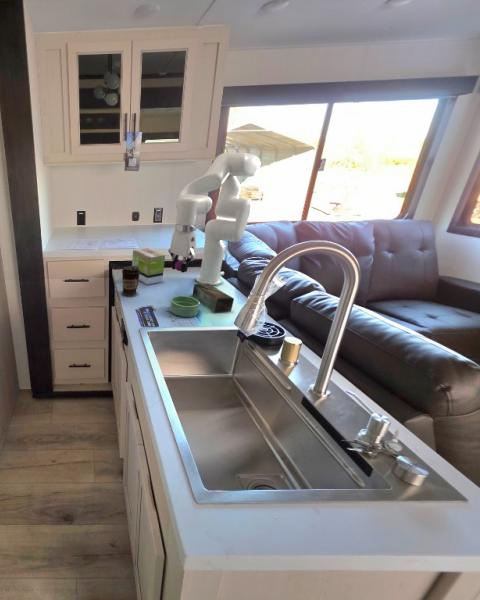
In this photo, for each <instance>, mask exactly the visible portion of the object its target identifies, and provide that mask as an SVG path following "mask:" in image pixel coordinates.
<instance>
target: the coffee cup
mask: <svg viewBox="0 0 480 600" xmlns="http://www.w3.org/2000/svg"><path fill="white" fill-rule="evenodd" d="M121 274H122V275H121V276H122V277H121V278H122V279H121V281H122V294H123V295H124V296H129V297H134V296H136V295H138V293H137V290H138V286H139V281H140V280H139V274H140V270H139V267H136V266H132V265H128V266H124V267H123V268H122V272H121Z"/></svg>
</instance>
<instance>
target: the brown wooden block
mask: <svg viewBox="0 0 480 600" xmlns="http://www.w3.org/2000/svg"><path fill="white" fill-rule="evenodd" d="M191 297H193V298H195V299H197V300H198V301H199V302H201V304H203V305H205V306H206V307H207V308H209V309H210V310H212V311H213V312H214V313H224V312H225V313H226V312H232V309H233V305H234V300H235V298H234V297H232V296H230V295H229V294H227V293H225V292H224V291H222V290H220V289H219V288H217V287H215V285H210V284H209V283H205V284H202V283H199V282H197V283H194V284H193V289H192V295H191Z"/></svg>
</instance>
